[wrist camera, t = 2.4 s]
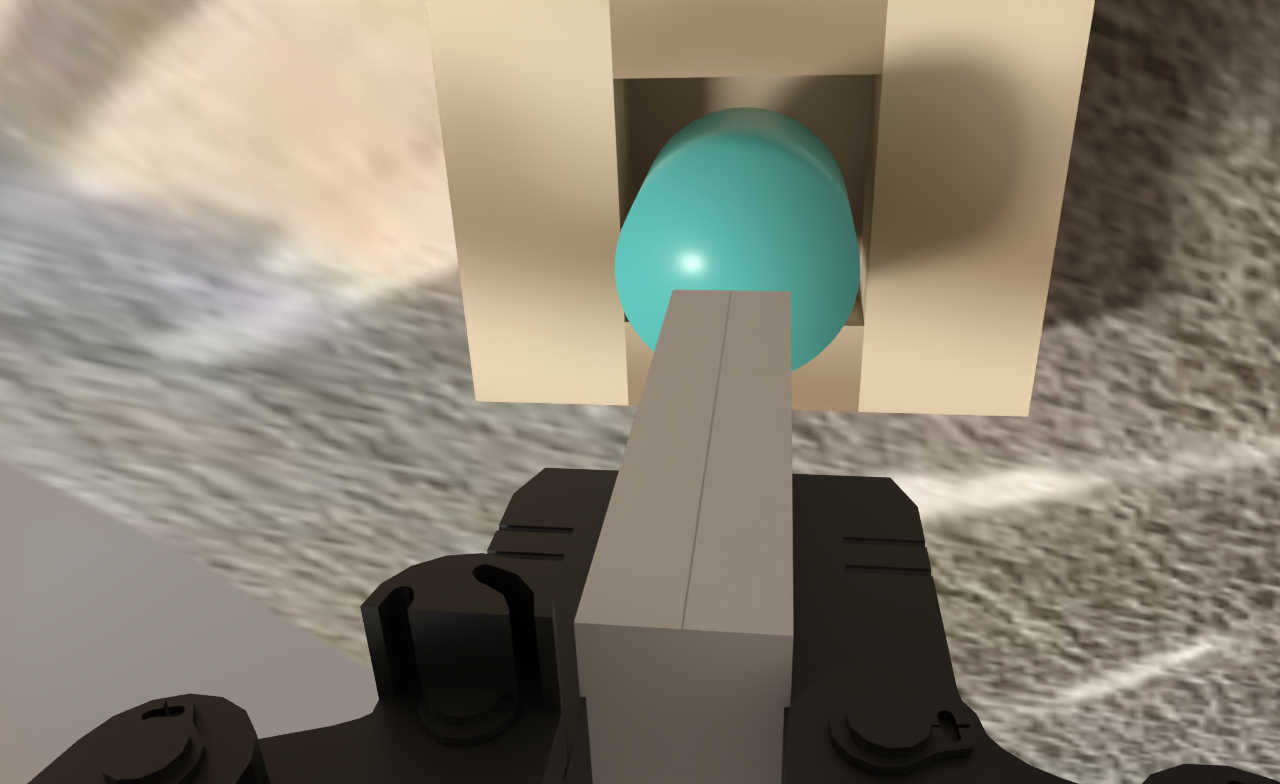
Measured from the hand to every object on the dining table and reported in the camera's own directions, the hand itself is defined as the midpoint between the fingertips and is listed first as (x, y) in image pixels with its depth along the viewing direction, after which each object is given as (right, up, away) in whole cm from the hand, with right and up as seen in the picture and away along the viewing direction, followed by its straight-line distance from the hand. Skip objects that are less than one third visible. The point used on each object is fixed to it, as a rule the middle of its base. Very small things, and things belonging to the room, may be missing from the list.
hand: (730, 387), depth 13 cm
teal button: (+1, +3, +6) cm, 7 cm away
